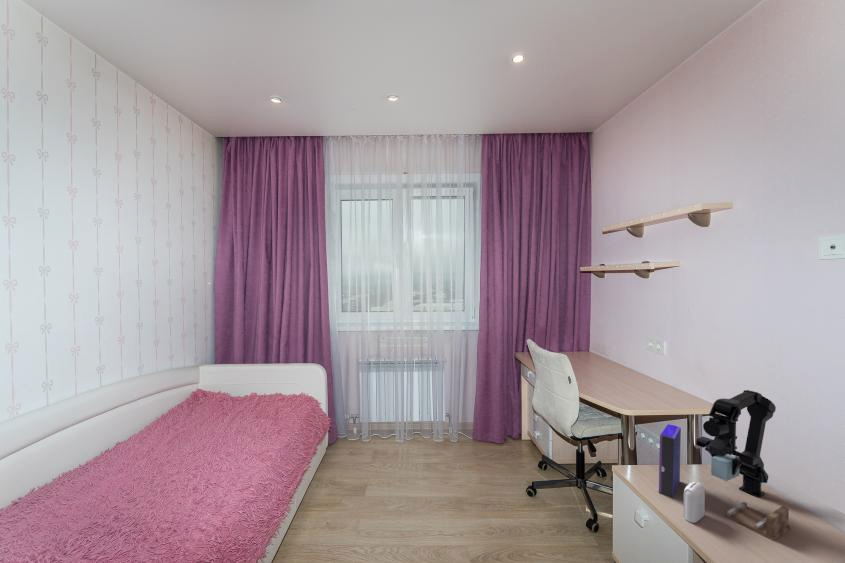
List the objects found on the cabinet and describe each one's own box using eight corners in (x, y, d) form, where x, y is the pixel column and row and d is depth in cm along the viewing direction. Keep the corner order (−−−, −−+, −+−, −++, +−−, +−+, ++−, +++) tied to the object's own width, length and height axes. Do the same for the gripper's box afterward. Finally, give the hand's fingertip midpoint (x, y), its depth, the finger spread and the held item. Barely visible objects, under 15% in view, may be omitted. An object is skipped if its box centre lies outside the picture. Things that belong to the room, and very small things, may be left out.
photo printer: (692, 509, 134) (693, 477, 134) (706, 515, 130) (706, 482, 130) (681, 518, 128) (682, 485, 128) (695, 525, 124) (696, 491, 125)
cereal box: (666, 477, 156) (667, 423, 156) (679, 481, 153) (680, 427, 153) (658, 493, 144) (659, 435, 144) (672, 498, 140) (674, 438, 141)
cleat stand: (740, 505, 136) (740, 488, 137) (790, 528, 124) (790, 508, 124) (723, 515, 130) (723, 497, 130) (773, 540, 118) (774, 520, 118)
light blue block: (724, 469, 144) (724, 452, 144) (739, 475, 139) (739, 458, 139) (711, 474, 139) (711, 457, 139) (726, 481, 135) (726, 463, 135)
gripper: (688, 426, 144) (688, 464, 144) (746, 446, 127) (745, 488, 127) (703, 422, 149) (702, 459, 149) (760, 440, 132) (759, 481, 132)
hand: (725, 471), depth 139 cm, fingers closed on light blue block, 5 cm apart
